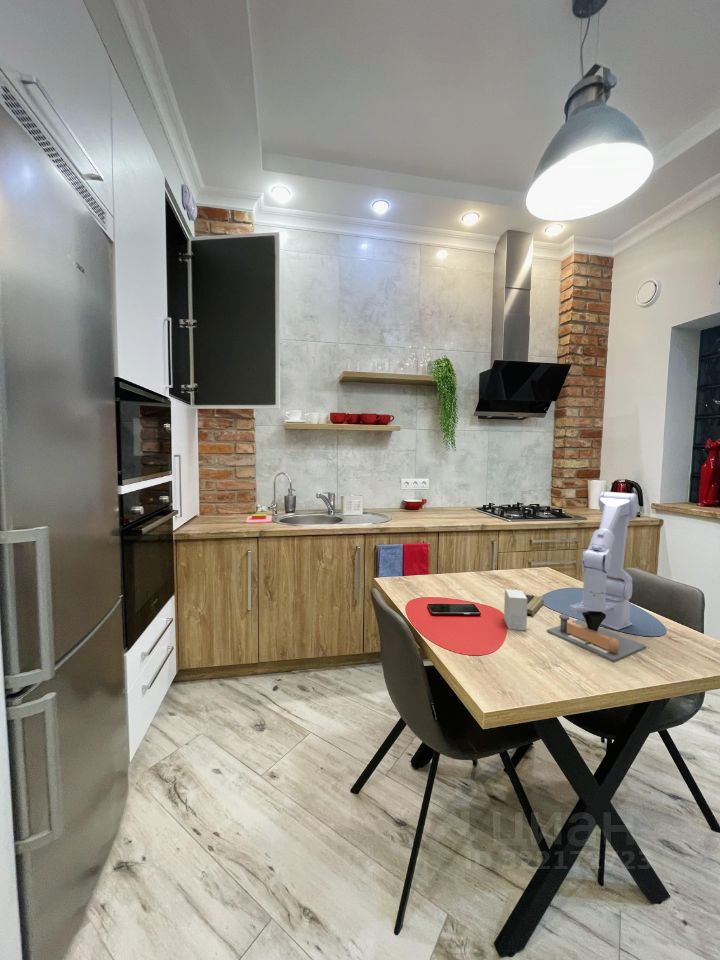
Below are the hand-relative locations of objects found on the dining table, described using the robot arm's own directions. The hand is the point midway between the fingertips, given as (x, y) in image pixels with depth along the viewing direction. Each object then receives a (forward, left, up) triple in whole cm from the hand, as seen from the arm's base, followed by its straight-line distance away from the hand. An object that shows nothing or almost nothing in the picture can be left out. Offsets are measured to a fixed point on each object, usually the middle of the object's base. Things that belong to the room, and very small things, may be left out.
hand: (591, 634), depth 113 cm
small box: (+11, -19, -2) cm, 22 cm away
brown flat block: (-5, -26, -3) cm, 27 cm away
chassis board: (-2, -1, -2) cm, 3 cm away
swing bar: (+2, +1, -1) cm, 3 cm away
